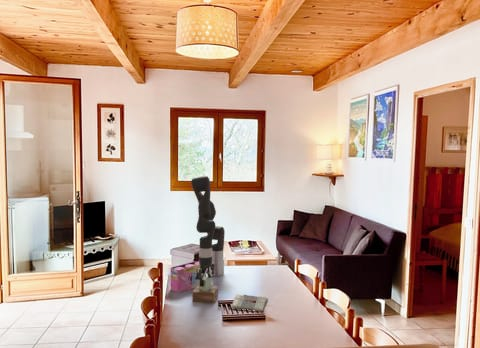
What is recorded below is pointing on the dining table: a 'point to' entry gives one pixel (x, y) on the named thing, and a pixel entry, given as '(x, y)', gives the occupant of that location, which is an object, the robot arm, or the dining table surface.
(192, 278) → the gum box
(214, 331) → the dining table surface
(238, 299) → the dish towel
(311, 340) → the dining table surface
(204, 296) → the walnut base
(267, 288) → the dining table surface
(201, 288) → the sage block
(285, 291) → the dining table surface
